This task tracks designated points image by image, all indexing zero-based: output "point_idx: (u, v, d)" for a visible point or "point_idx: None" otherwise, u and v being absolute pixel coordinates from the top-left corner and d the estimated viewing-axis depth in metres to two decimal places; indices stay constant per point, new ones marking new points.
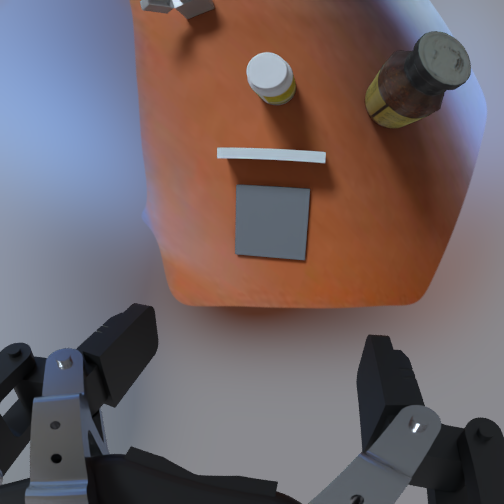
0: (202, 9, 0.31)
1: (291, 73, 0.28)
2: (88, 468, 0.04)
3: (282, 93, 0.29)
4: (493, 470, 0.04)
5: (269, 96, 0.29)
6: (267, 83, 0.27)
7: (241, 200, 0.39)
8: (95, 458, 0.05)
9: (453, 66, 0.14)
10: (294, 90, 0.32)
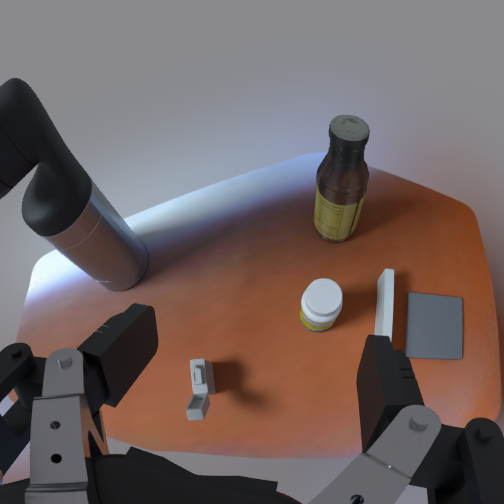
0: (211, 373, 0.37)
1: None
2: (88, 468, 0.04)
3: None
4: (493, 470, 0.04)
5: None
6: (337, 296, 0.32)
7: (419, 352, 0.35)
8: (95, 458, 0.05)
9: (355, 124, 0.28)
10: None
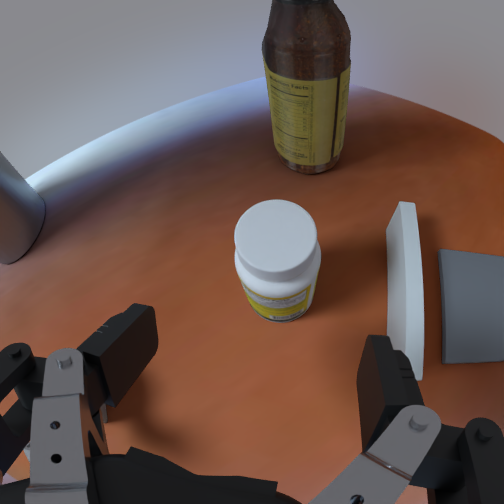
0: None
1: None
2: (89, 468, 0.04)
3: None
4: (493, 470, 0.04)
5: (320, 259, 0.17)
6: (305, 233, 0.15)
7: (466, 352, 0.18)
8: (95, 458, 0.05)
9: None
10: None
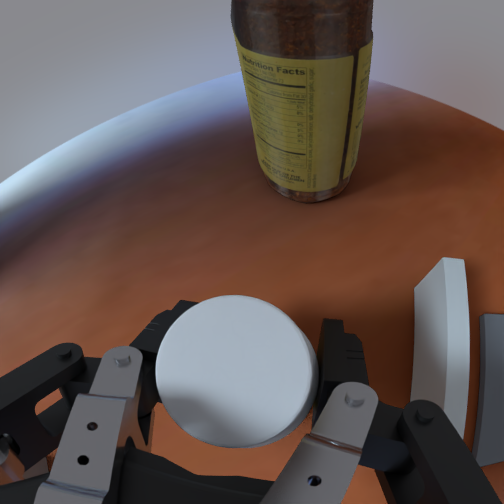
0: None
1: None
2: (114, 476, 0.04)
3: (310, 345, 0.10)
4: (443, 450, 0.05)
5: (317, 386, 0.09)
6: (290, 374, 0.07)
7: (500, 451, 0.10)
8: (127, 466, 0.05)
9: None
10: None
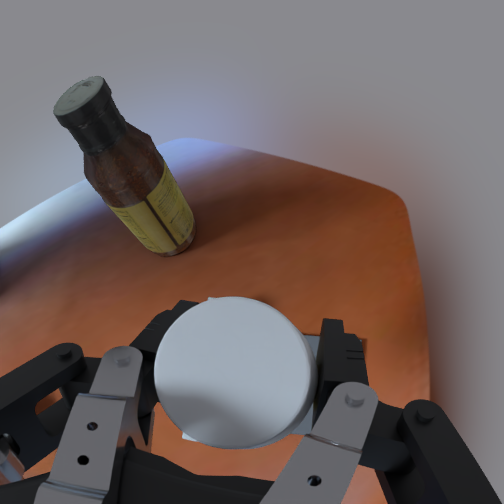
0: None
1: None
2: (115, 476, 0.04)
3: None
4: (443, 450, 0.05)
5: (316, 387, 0.09)
6: (288, 375, 0.07)
7: None
8: (127, 466, 0.05)
9: (86, 87, 0.16)
10: None
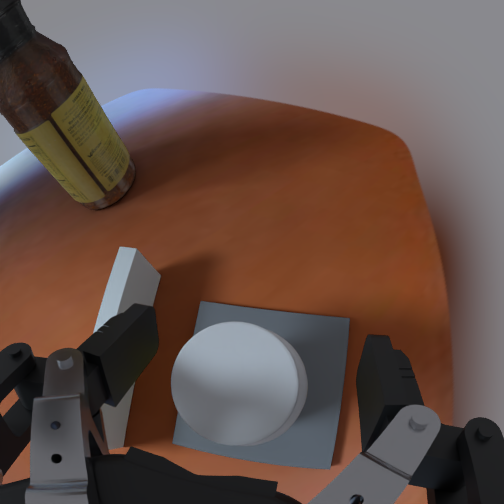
0: None
1: None
2: (88, 468, 0.04)
3: (300, 359, 0.11)
4: (493, 470, 0.04)
5: (305, 394, 0.11)
6: (280, 386, 0.09)
7: (205, 440, 0.15)
8: (95, 458, 0.05)
9: None
10: None
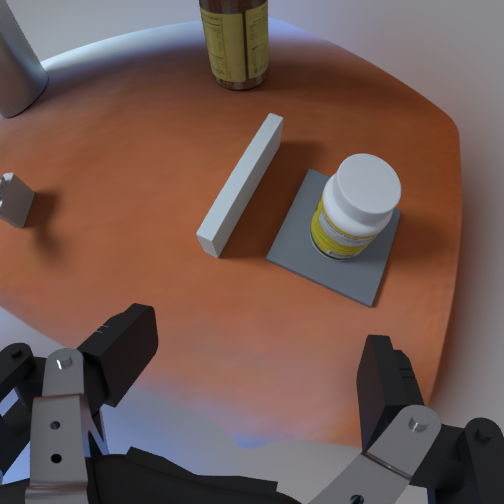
0: (26, 200, 0.25)
1: None
2: (88, 468, 0.04)
3: None
4: (493, 470, 0.04)
5: (390, 216, 0.18)
6: (393, 190, 0.16)
7: (292, 260, 0.24)
8: (95, 458, 0.05)
9: None
10: None
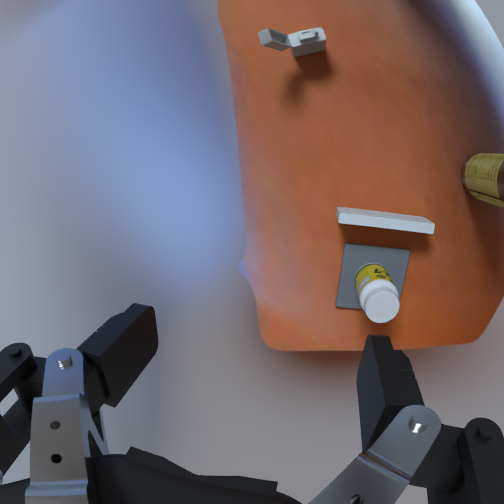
0: (314, 50, 0.32)
1: None
2: (88, 468, 0.04)
3: None
4: (493, 470, 0.04)
5: None
6: (380, 319, 0.32)
7: (348, 258, 0.39)
8: (95, 458, 0.05)
9: None
10: None
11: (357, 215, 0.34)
